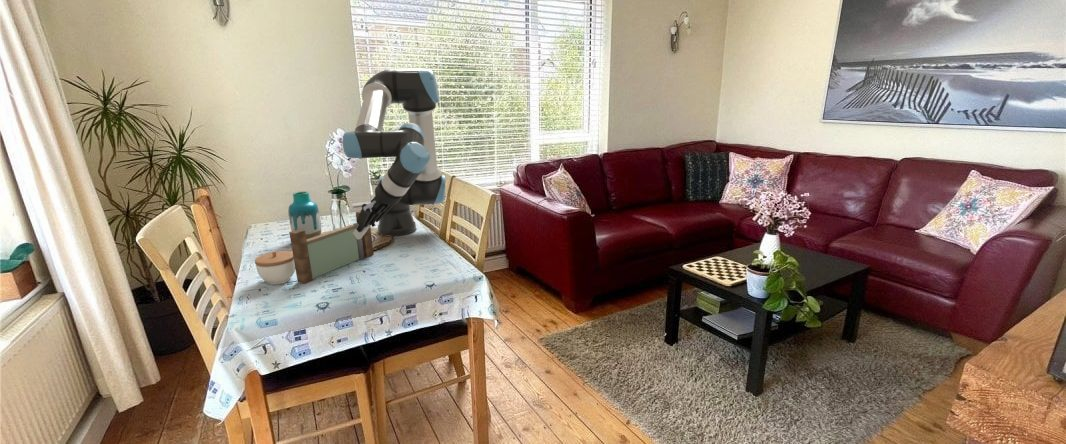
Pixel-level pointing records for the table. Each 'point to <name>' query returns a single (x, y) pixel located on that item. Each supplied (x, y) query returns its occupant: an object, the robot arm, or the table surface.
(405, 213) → the robot arm
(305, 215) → the vase
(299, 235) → the gate posts
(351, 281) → the table surface
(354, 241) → the gate
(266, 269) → the lidded jar
